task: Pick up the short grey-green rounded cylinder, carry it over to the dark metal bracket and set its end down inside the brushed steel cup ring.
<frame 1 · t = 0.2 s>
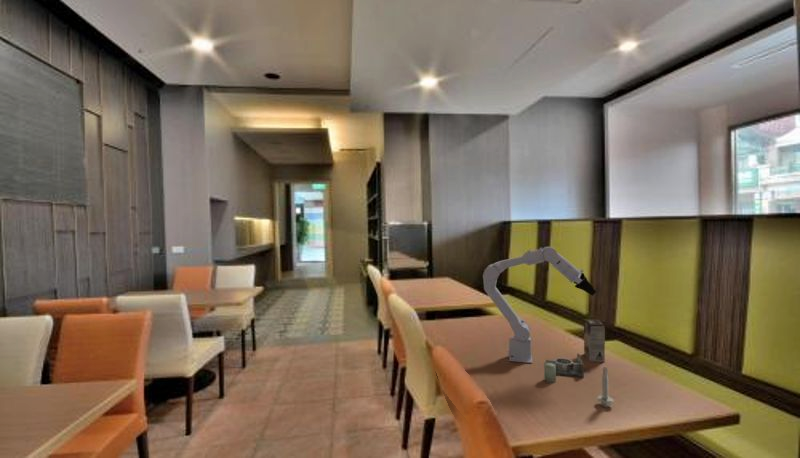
hand: (593, 291, 154), 31 cm above the table, tool tilted 45°, fingers open, 7 cm apart
grey-green rounded cylinder: (550, 380, 143), on the table
cup bracket: (563, 369, 153), on the table
coffee box: (594, 358, 165), on the table
screw: (605, 405, 124), on the table
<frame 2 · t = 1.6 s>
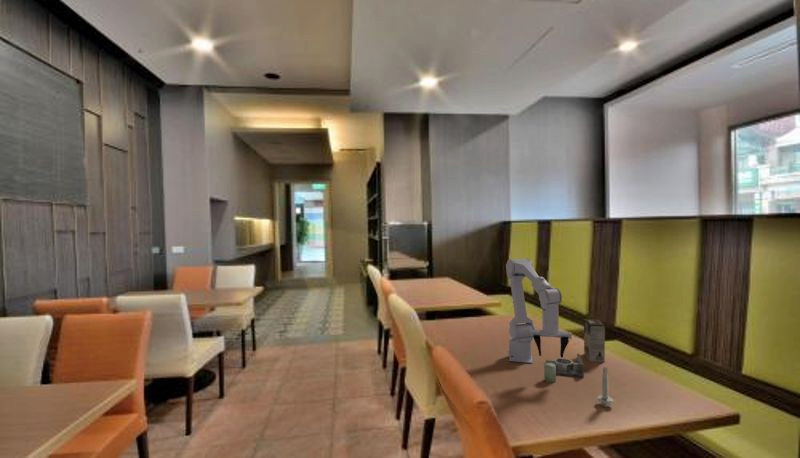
hand: (550, 355, 143), 10 cm above the table, tool pointing down, fingers open, 7 cm apart
nothing on the table moved.
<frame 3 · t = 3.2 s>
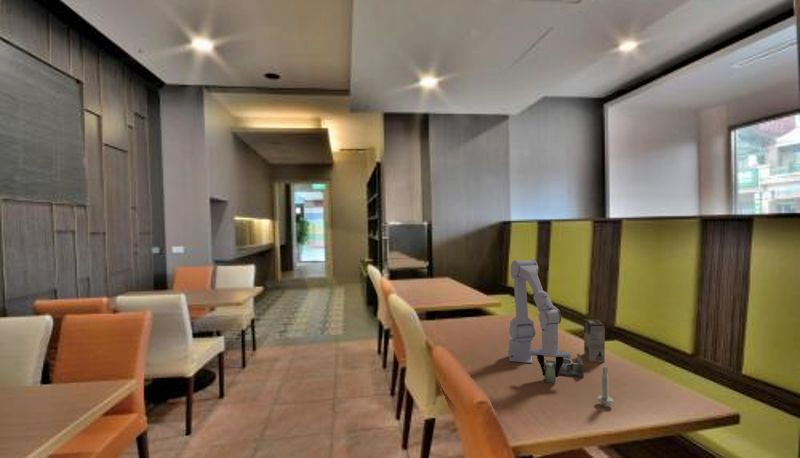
hand: (550, 375, 143), 2 cm above the table, tool pointing down, fingers closed on grey-green rounded cylinder, 4 cm apart
grey-green rounded cylinder: (550, 380, 143), on the table, touching gripper
everything else where it was.
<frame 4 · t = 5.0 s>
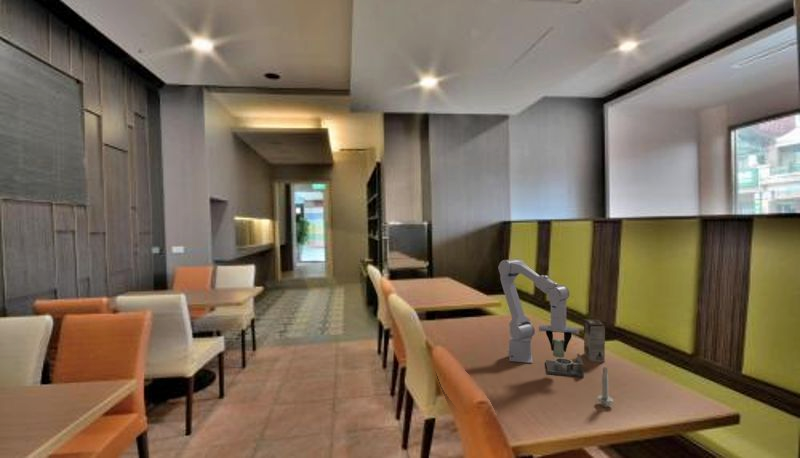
hand: (558, 350, 149), 9 cm above the table, tool pointing down, fingers closed on grey-green rounded cylinder, 4 cm apart
grey-green rounded cylinder: (558, 355, 149), point 7 cm above the table, touching gripper
everything else where it was.
when the fingers open (4 cm above the table, at t = 6.9 s): grey-green rounded cylinder drops 1 cm, resting on cup bracket.
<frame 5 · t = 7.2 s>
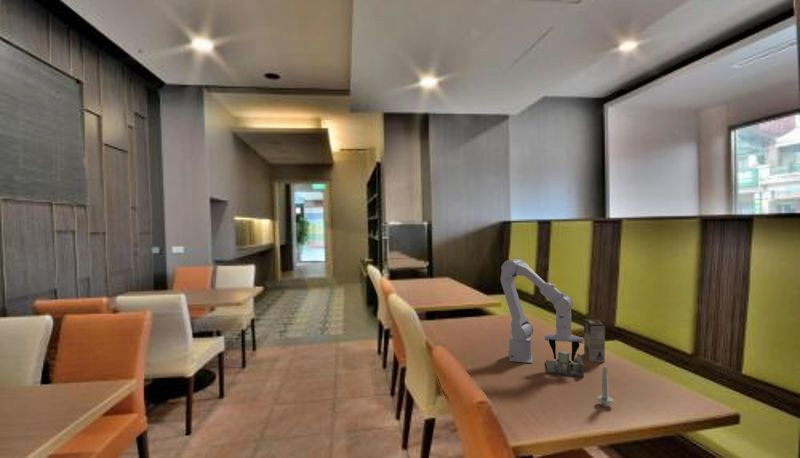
hand: (563, 358, 153), 4 cm above the table, tool pointing down, fingers open, 6 cm apart
grey-green rounded cylinder: (563, 367, 153), point 1 cm above the table, touching cup bracket
everything else where it was.
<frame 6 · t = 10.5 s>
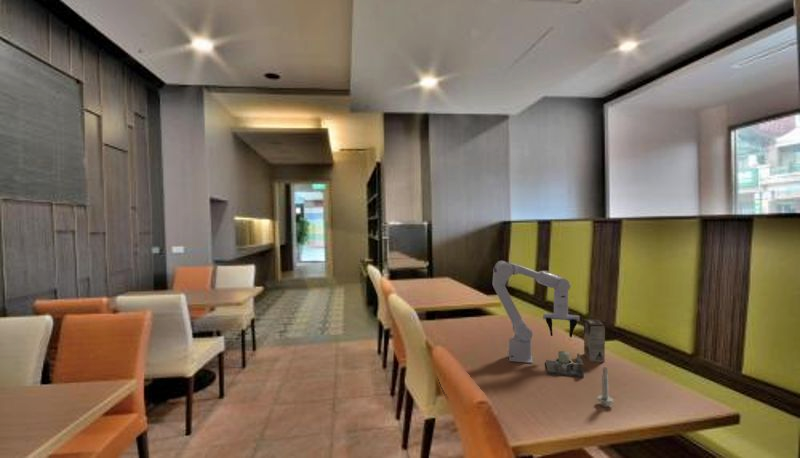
hand: (560, 336, 163), 10 cm above the table, tool pointing down, fingers open, 7 cm apart
nothing on the table moved.
at the end: grey-green rounded cylinder 0.3 cm from the cup bracket (horizontally); grey-green rounded cylinder point 1.0 cm above the table; the gripper is holding nothing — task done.
